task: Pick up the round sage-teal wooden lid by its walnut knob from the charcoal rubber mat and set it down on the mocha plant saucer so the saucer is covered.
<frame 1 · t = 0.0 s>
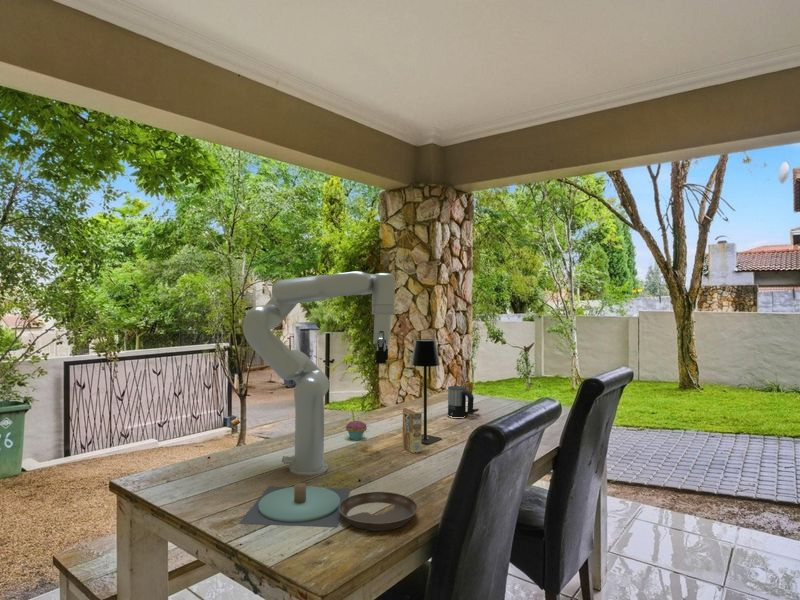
hand: (382, 361, 164), 37 cm above the table, tool pointing down, fingers open, 9 cm apart
milk frother: (462, 416, 248), on the table
lid: (299, 504, 136), resting on mat
cupcake: (356, 438, 204), on the table
plant saucer: (377, 518, 130), on the table
candy box: (411, 450, 190), on the table
mat: (299, 506, 136), on the table
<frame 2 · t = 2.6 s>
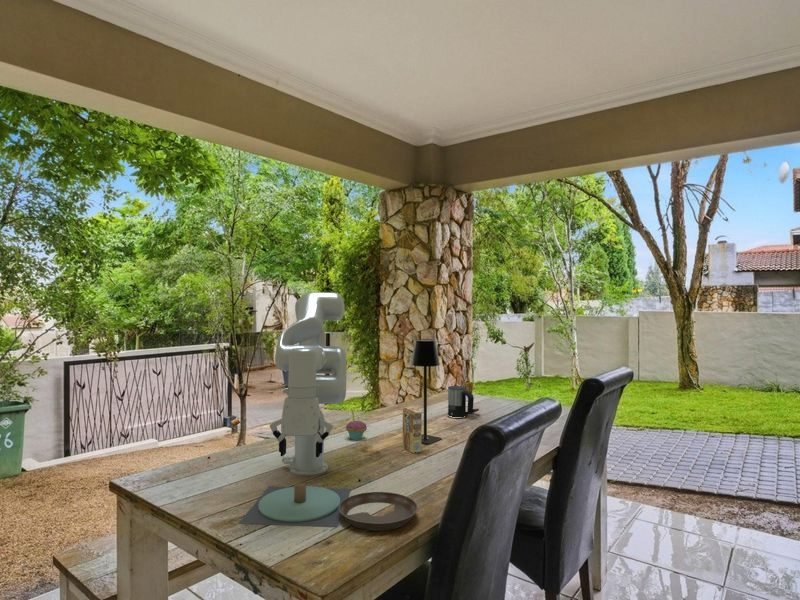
hand: (300, 455, 135), 14 cm above the table, tool pointing down, fingers open, 9 cm apart
nothing on the table moved.
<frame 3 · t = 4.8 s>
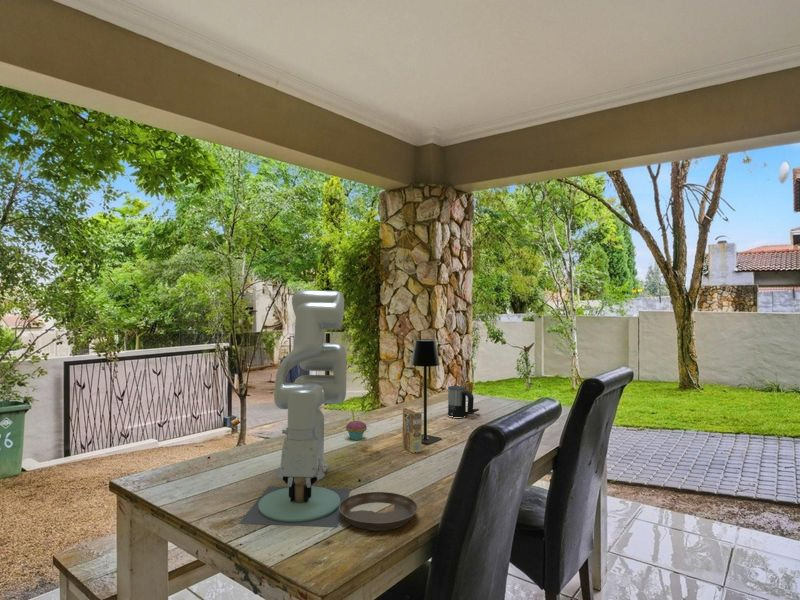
hand: (300, 499, 136), 2 cm above the table, tool pointing down, fingers closed on lid, 3 cm apart
lid: (299, 504, 136), resting on mat, touching gripper
everything else where it was.
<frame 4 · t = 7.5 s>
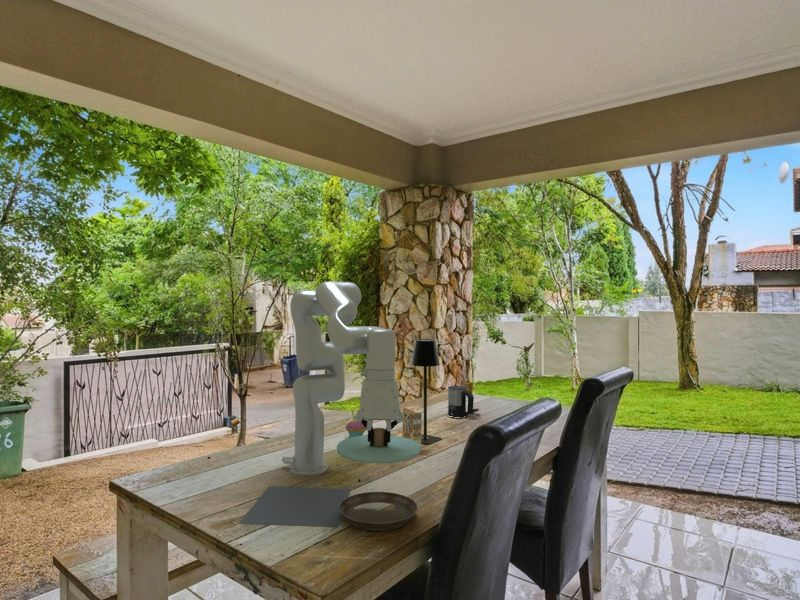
hand: (379, 444, 130), 19 cm above the table, tool pointing down, fingers closed on lid, 3 cm apart
lid: (378, 449, 130), point 18 cm above the table, touching gripper
everything else where it was.
when the fingers open (6 cm above the table, at t = 10.6 s): lid drops 2 cm, resting on plant saucer.
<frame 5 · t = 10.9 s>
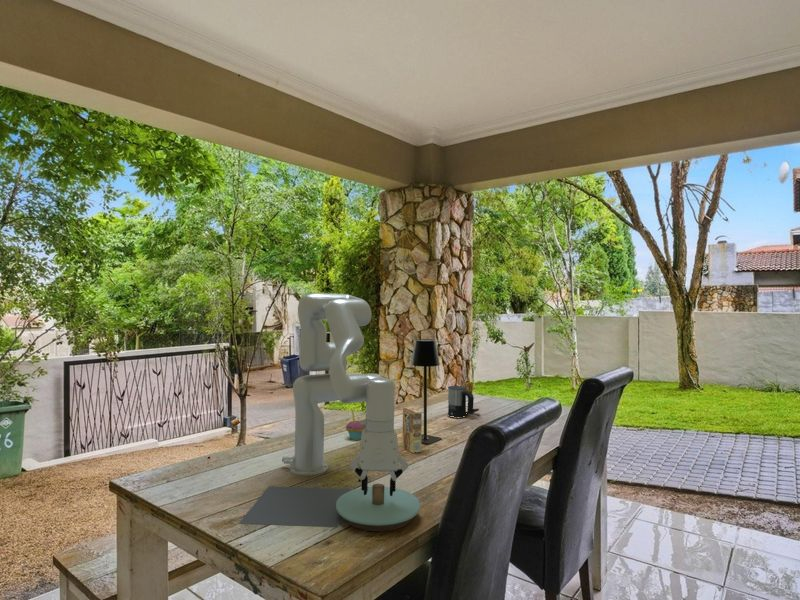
hand: (378, 492, 130), 6 cm above the table, tool pointing down, fingers open, 6 cm apart
lid: (378, 506, 130), point 3 cm above the table, touching plant saucer
plant saucer: (378, 519, 130), on the table, touching lid
everything else where it was.
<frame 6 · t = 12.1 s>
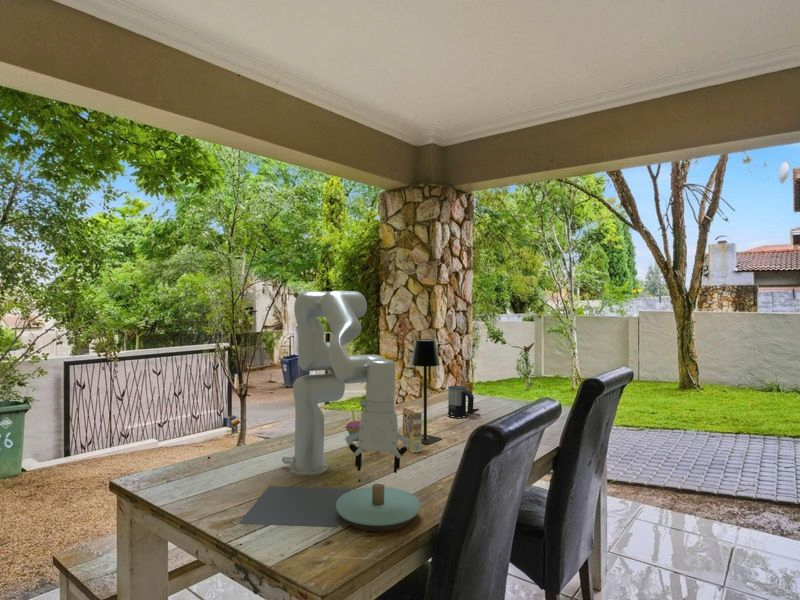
hand: (377, 470, 131), 12 cm above the table, tool pointing down, fingers open, 9 cm apart
nothing on the table moved.
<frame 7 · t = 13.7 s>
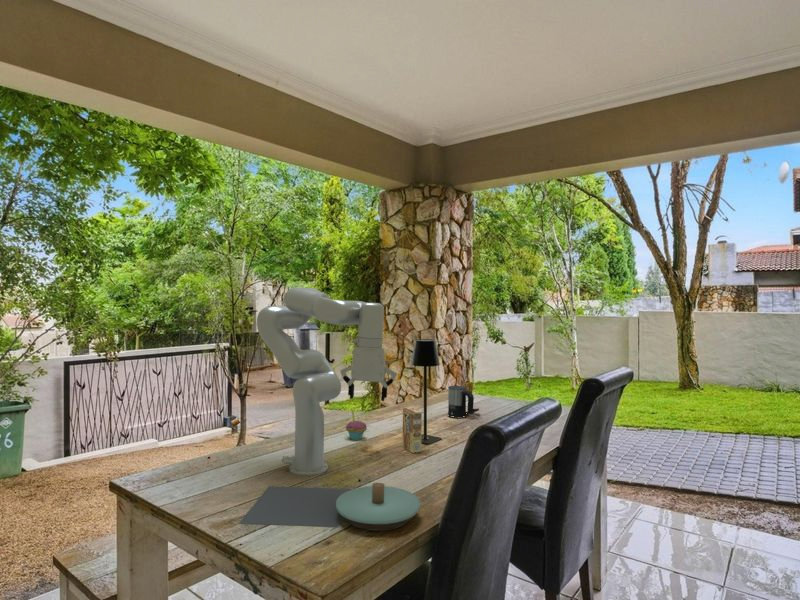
hand: (367, 399, 151), 27 cm above the table, tool pointing down, fingers open, 9 cm apart
nothing on the table moved.
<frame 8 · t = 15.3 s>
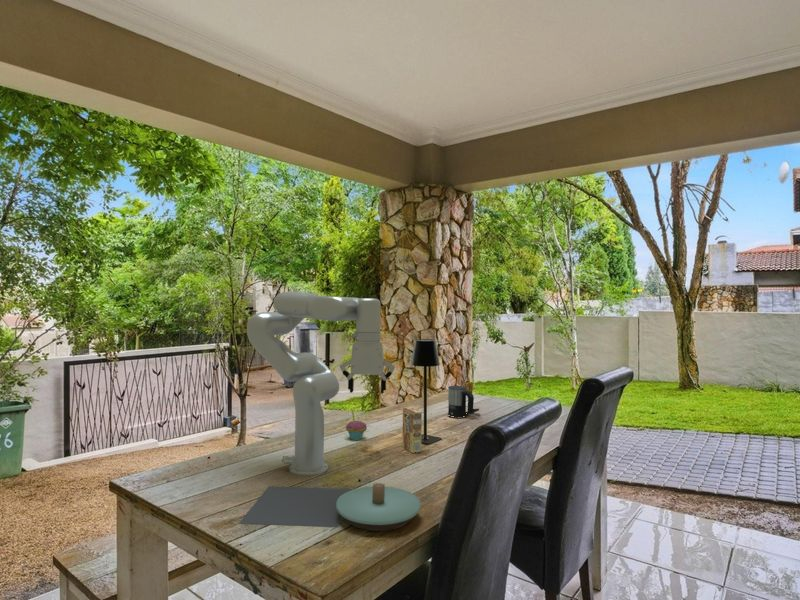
hand: (366, 392, 154), 28 cm above the table, tool pointing down, fingers open, 9 cm apart
nothing on the table moved.
at the end: lid 0.1 cm from the plant saucer (horizontally); lid inside the target area (0.0 cm from its centre), point 2.9 cm above the table; lid tilted 0° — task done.
